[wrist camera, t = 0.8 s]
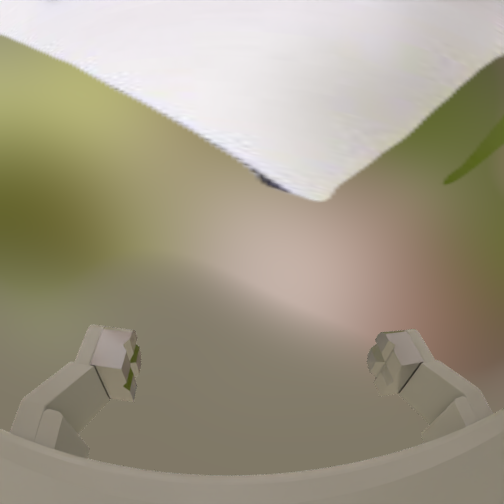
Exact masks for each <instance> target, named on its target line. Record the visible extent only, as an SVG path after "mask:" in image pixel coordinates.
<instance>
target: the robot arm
mask: <svg viewBox="0 0 504 504" xmlns="http://www.w3.org/2000/svg"><path fill="white" fill-rule="evenodd" d="M375 340H376V343H377V344H376V345H375V346H373V347H372V348H371V349H370V351H369V353H368V358H367V364H368V369H369V371H370V373H371V374H373V375H374V376H375V381H374V384H375V386H376V389H377V391H378V394H379V396H387V395H393V394H398V395H399V396H400V397H401V398H402V399H403V400H404V401H405V402H406V403H407V404H409V406H411V407H412V408H413V409H414V410H415V411H416V412H417V413H418V414H419V415H420V416H421V417H422V418H423V419H424V420H425V421H426V422H427V423H428V424H429V426H428V427H427V428H426V429H425V430H424V431H423V432H422V434H421V437H422V439H423V442H424V443H423V444H420V445H417V446H414V447H411V448H408V449H405V450H401V451H398V452H395V453H391V454H387V455H384V456H380V457H376V458H372V459H368V460H363V461H359V462H354V463H350V464H344V465H339V466H334V467H328V468H322V469H315V470H308V471H299V472H290V473H280V474H265V475H244V476H243V475H239V476H217V475H192V474H178V473H167V472H159V471H150V470H143V469H137V468H130V467H125V466H119V465H114V464H109V463H104V462H99V461H95V460H91V459H88V456H89V450H90V448H89V447H88V445H87V444H86V443H85V442H84V441H83V439H82V438H81V437H80V436H79V435H78V434H79V433H80V432H81V431H82V430H83V429H84V428H85V427H86V425H88V424H89V422H90V421H91V420H92V419H93V418H94V417H95V416H96V415H97V414H98V413H99V412H100V410H101V409H102V408H103V407H104V406H105V405H106V404H107V403H108V402H109V401H110V399H115V400H122V401H131V402H134V399H135V394H136V389H137V384H136V380H135V378H136V377H137V376H138V375H139V373H140V368H141V352H140V347H139V346H138V345H136V341H137V335H136V331H135V330H129V329H122V328H114V327H107V326H99V325H91V326H90V327H89V328H88V330H87V332H86V335H85V337H84V339H83V342H82V344H81V347H80V349H79V351H78V354H77V357H76V360H75V362H69V363H68V364H67V365H65V366H64V367H63V368H62V369H60V370H59V371H58V372H56V373H55V374H54V375H52V376H51V377H50V378H48V380H46V381H45V382H43V383H42V384H41V385H39V386H38V387H37V388H36V389H34V390H33V391H32V392H30V393H29V394H28V395H27V396H25V397H24V398H23V399H22V400H21V403H20V405H19V408H18V411H17V413H16V416H15V419H14V422H13V425H12V428H11V431H10V433H9V432H7V431H4V430H2V429H0V504H504V408H503V409H501V410H499V411H498V412H496V413H494V414H493V413H492V411H491V409H490V407H489V405H488V403H487V401H486V400H485V398H484V396H483V394H482V392H481V391H480V389H479V388H477V387H476V386H474V385H473V384H472V383H470V382H469V381H468V380H466V379H465V378H463V377H462V376H460V375H459V374H457V373H456V372H455V371H453V370H452V369H450V368H449V367H447V366H446V365H445V364H443V363H442V362H440V361H439V360H435V359H434V357H433V356H432V354H431V352H430V351H429V349H428V347H427V346H426V344H425V342H424V340H423V339H422V337H421V335H420V334H419V332H418V331H417V330H416V329H410V330H400V331H390V332H381V333H380V334H378V336H377V338H376V339H375Z"/></svg>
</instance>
